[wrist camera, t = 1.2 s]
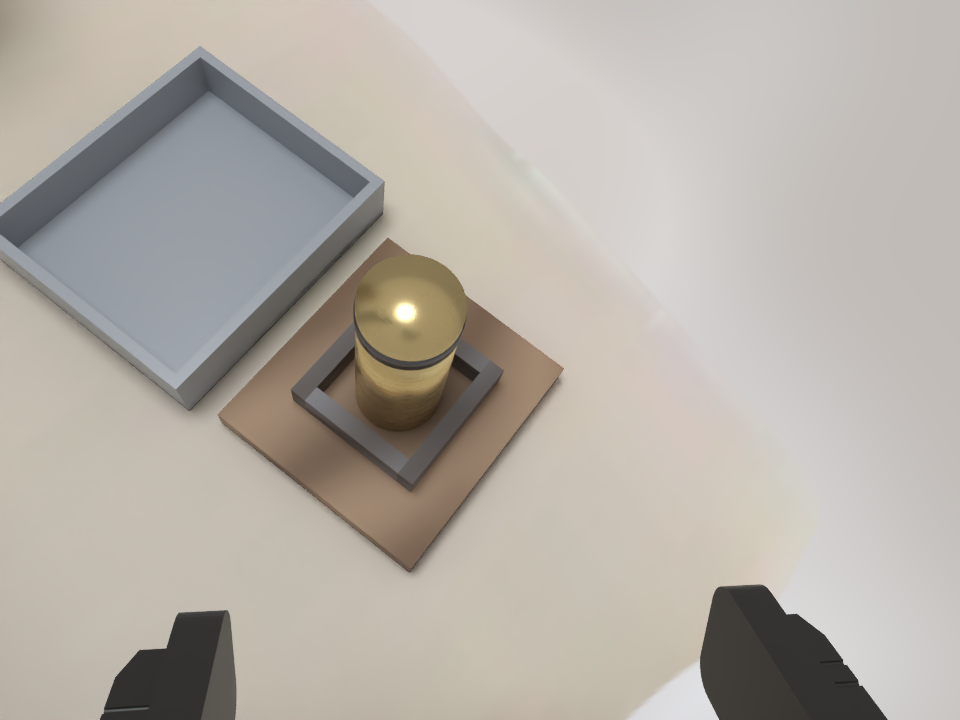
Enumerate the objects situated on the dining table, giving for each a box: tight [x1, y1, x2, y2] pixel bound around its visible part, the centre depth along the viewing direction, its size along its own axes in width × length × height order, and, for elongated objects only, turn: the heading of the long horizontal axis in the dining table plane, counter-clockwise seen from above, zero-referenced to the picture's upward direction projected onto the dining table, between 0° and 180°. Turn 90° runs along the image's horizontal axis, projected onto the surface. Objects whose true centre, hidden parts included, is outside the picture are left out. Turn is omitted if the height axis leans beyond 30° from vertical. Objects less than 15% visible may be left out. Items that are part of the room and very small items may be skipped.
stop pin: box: [353, 255, 467, 432], centre depth 33 cm, size 4×4×10 cm
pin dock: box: [218, 238, 564, 572], centre depth 37 cm, size 11×12×3 cm
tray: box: [0, 46, 385, 411], centre depth 38 cm, size 12×14×3 cm
